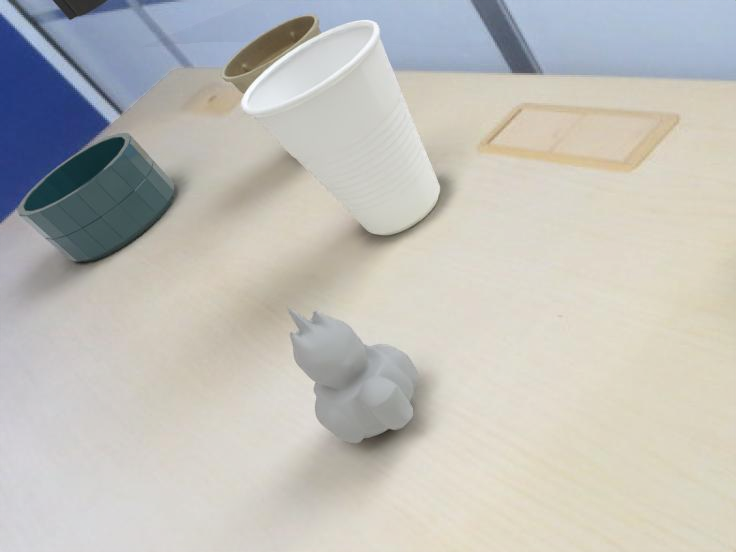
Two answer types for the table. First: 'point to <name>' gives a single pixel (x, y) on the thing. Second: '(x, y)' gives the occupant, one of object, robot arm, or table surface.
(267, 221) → the table surface
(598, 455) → the table surface
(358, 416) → the grey horned figurine
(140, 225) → the teal short open cylinder
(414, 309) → the table surface
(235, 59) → the flower pot
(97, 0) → the dark grey frame
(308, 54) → the cup
